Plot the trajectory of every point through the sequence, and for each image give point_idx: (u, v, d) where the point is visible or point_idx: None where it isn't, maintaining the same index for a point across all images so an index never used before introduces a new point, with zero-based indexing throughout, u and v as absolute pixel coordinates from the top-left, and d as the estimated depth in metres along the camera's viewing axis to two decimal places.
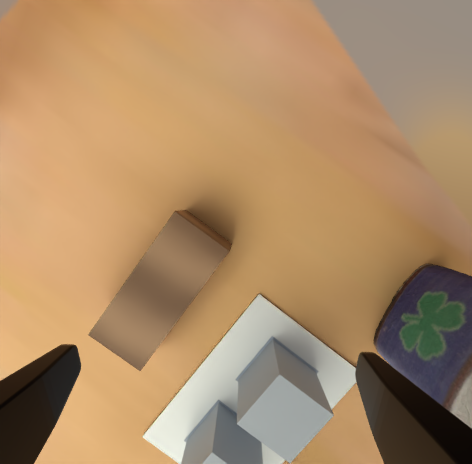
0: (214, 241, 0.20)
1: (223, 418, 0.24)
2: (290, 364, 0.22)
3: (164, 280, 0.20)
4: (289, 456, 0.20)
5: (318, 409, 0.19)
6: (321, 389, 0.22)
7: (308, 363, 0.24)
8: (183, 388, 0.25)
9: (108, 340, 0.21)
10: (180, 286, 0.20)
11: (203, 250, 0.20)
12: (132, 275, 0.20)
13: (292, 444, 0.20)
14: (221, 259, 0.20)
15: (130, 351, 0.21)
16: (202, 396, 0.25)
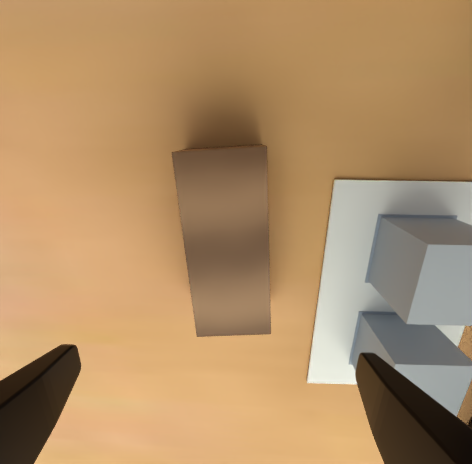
0: (241, 149, 0.14)
1: (378, 324, 0.20)
2: (425, 227, 0.17)
3: (223, 234, 0.16)
4: None
5: None
6: None
7: (440, 214, 0.19)
8: (316, 322, 0.22)
9: (219, 328, 0.18)
10: (243, 228, 0.15)
11: (237, 170, 0.14)
12: (188, 254, 0.16)
13: None
14: (264, 163, 0.14)
15: (247, 323, 0.18)
16: (340, 318, 0.22)
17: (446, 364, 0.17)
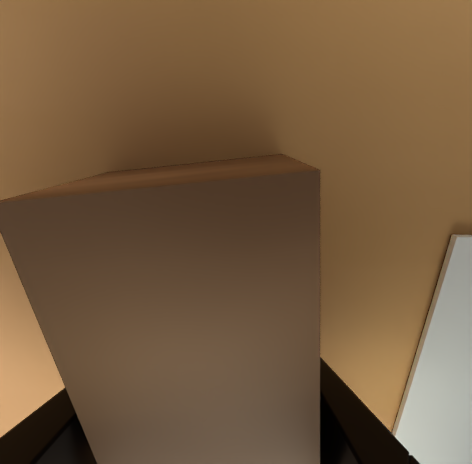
0: (228, 184, 0.04)
1: None
2: None
3: (190, 416, 0.06)
4: None
5: None
6: None
7: None
8: None
9: None
10: (248, 402, 0.05)
11: (218, 252, 0.04)
12: (102, 460, 0.06)
13: None
14: (312, 227, 0.04)
15: None
16: None
17: None
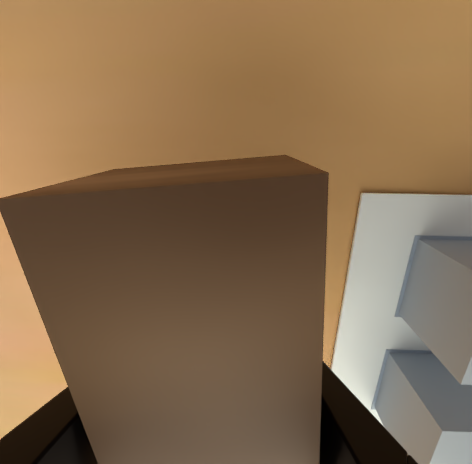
0: (236, 184, 0.04)
1: (411, 369, 0.16)
2: None
3: (191, 415, 0.06)
4: None
5: None
6: None
7: None
8: (334, 362, 0.18)
9: None
10: (249, 401, 0.05)
11: (224, 253, 0.04)
12: (102, 457, 0.06)
13: None
14: (319, 229, 0.04)
15: None
16: (363, 357, 0.18)
17: None
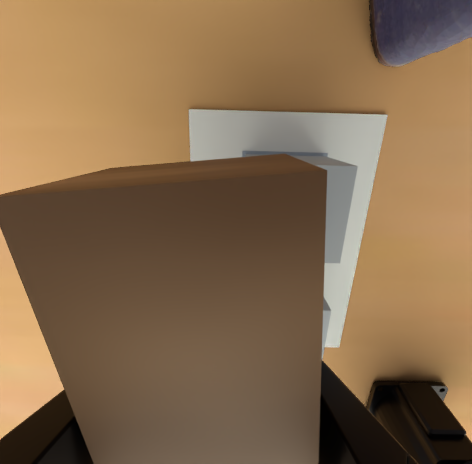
0: (233, 182, 0.04)
1: None
2: None
3: (189, 416, 0.05)
4: (334, 256, 0.14)
5: (332, 174, 0.12)
6: (334, 160, 0.15)
7: (309, 152, 0.17)
8: None
9: None
10: (248, 402, 0.05)
11: (221, 251, 0.04)
12: (98, 459, 0.06)
13: (328, 239, 0.14)
14: (317, 228, 0.04)
15: None
16: None
17: None
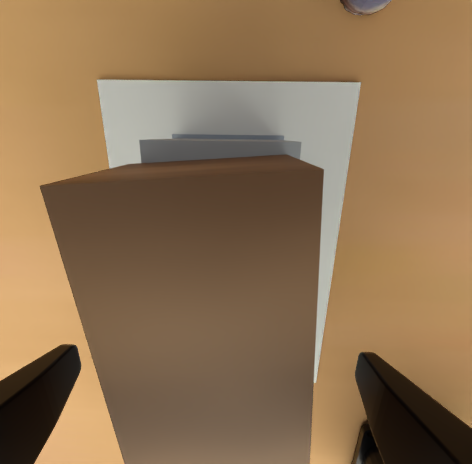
0: (246, 177, 0.05)
1: None
2: (202, 139, 0.11)
3: (199, 382, 0.06)
4: None
5: (263, 154, 0.08)
6: None
7: (260, 134, 0.13)
8: None
9: None
10: (251, 370, 0.06)
11: (233, 236, 0.05)
12: (117, 421, 0.07)
13: None
14: (314, 217, 0.05)
15: None
16: None
17: None
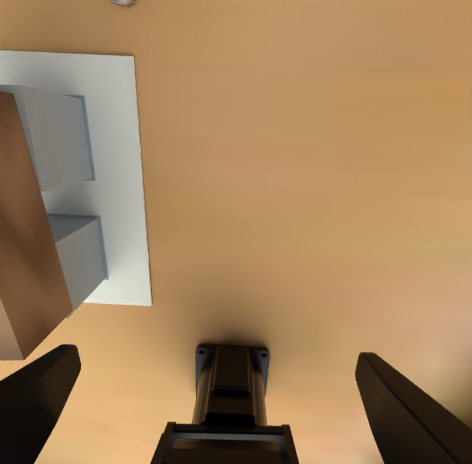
0: None
1: None
2: None
3: None
4: None
5: None
6: None
7: (66, 94, 0.17)
8: None
9: None
10: None
11: None
12: None
13: None
14: None
15: None
16: None
17: None
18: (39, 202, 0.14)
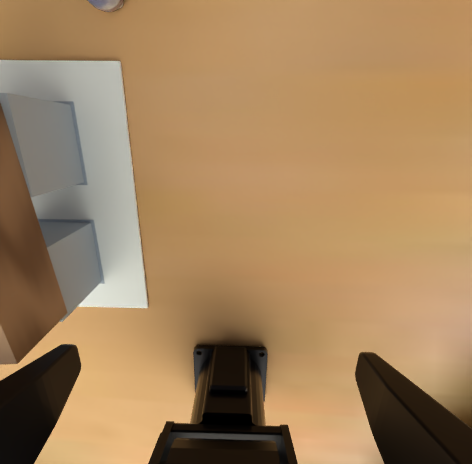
0: None
1: None
2: None
3: None
4: None
5: None
6: None
7: (55, 100, 0.17)
8: None
9: None
10: None
11: None
12: None
13: None
14: None
15: None
16: None
17: None
18: (29, 207, 0.14)
